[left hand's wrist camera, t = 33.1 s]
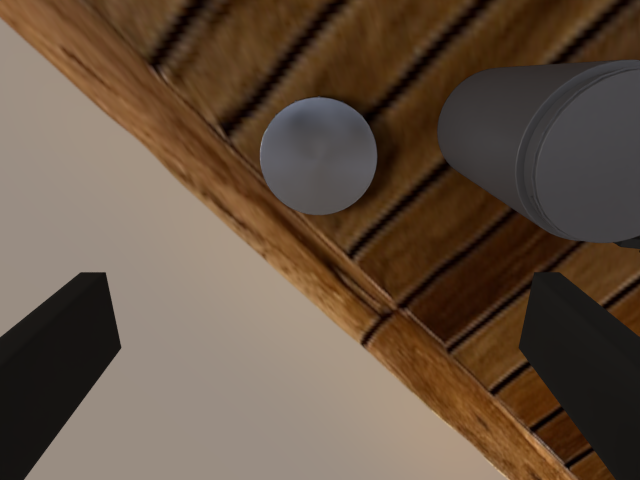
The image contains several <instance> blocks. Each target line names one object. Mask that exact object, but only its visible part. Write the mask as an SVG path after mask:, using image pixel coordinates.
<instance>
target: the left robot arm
mask: <svg viewBox="0 0 640 480" xmlns="http://www.w3.org/2000/svg"><path fill="white" fill-rule="evenodd" d="M120 349H121V344H120V339H119V334H118V329H117V325H116V320H115V315H114V311H113V305H112V301H111V296H110V291H109V286H108V281H107V277H106V273H105V272H81V273H79V274H78V275H77V276H76V277H74V278H73V279H72V280H71V281H69V282H68V283H67V284H66V285H64V286H63V287H62V288H61V289H60V290H58V291H57V292H56V293H55V294H53V295H52V296H51V297H50V298H48V299H47V300H46V301H45V302H43V303H42V304H41V305H40V306H38V307H37V308H36V309H35V310H34V311H32V312H31V313H30V314H29V315H27V316H26V317H25V318H24V319H22V320H21V321H20V322H19V323H17V324H16V325H15V326H14V327H12V328H11V329H10V330H9V331H8V332H6V333H5V334H4V335H3V336H1V337H0V480H24V479H25V477H26V476H27V475H28V473H29V472H30V471H31V469H32V468H33V467H34V465H35V464H36V463H37V461H38V460H39V459H40V457H41V456H42V454H43V453H44V452H45V450H46V449H47V448H48V446H49V445H50V444H51V442H52V441H53V440H54V438H55V437H56V436H57V434H58V433H59V431H60V430H61V429H62V427H63V426H64V425H65V423H66V422H67V421H68V419H69V418H70V417H71V415H72V414H73V412H74V411H75V410H76V408H77V407H78V406H79V404H80V403H81V402H82V400H83V399H84V398H85V396H86V395H87V394H88V392H89V391H90V390H91V388H92V387H93V385H94V384H95V383H96V381H97V380H98V379H99V377H100V376H101V375H102V373H103V372H104V371H105V369H106V368H107V366H108V365H109V364H110V362H111V361H112V360H113V358H114V357H115V356H116V354H117V353H118V352H119V350H120ZM519 349H520V350H521V352H522V353H523V354H524V356H525V357H526V358H527V360H528V361H529V363H530V364H531V365H532V367H533V368H534V369H535V371H536V372H537V373H538V375H539V376H540V377H541V379H542V380H543V381H544V383H545V384H546V385H547V387H548V388H549V390H550V391H551V392H552V394H553V395H554V396H555V398H556V399H557V400H558V402H559V403H560V404H561V406H562V407H563V408H564V410H565V411H566V413H567V414H568V415H569V417H570V418H571V419H572V421H573V422H574V423H575V425H576V426H577V427H578V429H579V430H580V431H581V433H582V434H583V436H584V437H585V438H586V440H587V441H588V442H589V444H590V445H591V446H592V448H593V449H594V450H595V452H596V453H597V454H598V456H599V457H600V459H601V460H602V461H603V463H604V464H605V465H606V467H607V468H608V469H609V471H610V472H611V473H612V475H613V476H614V477H615V479H616V480H640V337H639V336H637V335H636V334H635V333H634V332H633V331H631V330H630V329H629V328H628V327H626V326H625V325H624V324H623V323H621V322H620V321H619V320H618V319H616V318H615V317H614V316H613V315H611V314H610V313H609V312H608V311H607V310H605V309H604V308H603V307H602V306H600V305H599V304H598V303H597V302H595V301H594V300H593V299H592V298H590V297H589V296H588V295H587V294H585V293H584V292H583V291H582V290H580V289H579V288H578V287H577V286H576V285H574V284H573V283H572V282H571V281H569V280H568V279H567V278H566V277H564V276H563V275H562V274H561V273H559V272H534V277H533V281H532V286H531V291H530V296H529V301H528V305H527V310H526V315H525V320H524V325H523V329H522V334H521V339H520V344H519Z"/></svg>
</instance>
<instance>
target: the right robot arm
mask: <svg viewBox="0 0 640 480" xmlns="http://www.w3.org/2000/svg"><path fill="white" fill-rule="evenodd" d="M613 243H615V244H617V245H618V246H620V247H627V248H636V249H640V236H637V237H634V238H631V239H627V240H623V241H619V242H613ZM639 252H640V251H639Z"/></svg>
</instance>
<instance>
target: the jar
mask: <svg viewBox="0 0 640 480" xmlns="http://www.w3.org/2000/svg"><path fill="white" fill-rule="evenodd" d="M437 132H438V142H439V146H440V149H441V152H442V154H443V156H444V158H445V159H446V161H447V162H448V163H449V164H450V166H451V167H453V168H454V169H455V170H456V171H458V172H459V173H461V174H462V175H464V176H465V177H467V178H468V179H470V180H471V181H472V182H474V183H475V184H477V185H478V186H480V187H481V188H483V189H484V190H486V191H487V192H489V193H490V194H492V195H493V196H495V197H496V198H498V199H499V200H501V201H502V202H504V203H505V204H507V205H508V206H510V207H511V208H513V209H514V210H516V211H517V212H519V213H520V214H522V215H523V216H525V217H526V218H528V219H529V220H531V221H532V222H534V223H535V224H537V225H538V226H540V227H541V228H543V229H544V230H546V231H548V232H549V233H551V234H554V235H556V236H558V237H562V238H565V239H569V240H575V241H576V240H577V241H587V242H594V243H611V242H619V241H623V240H627V239H631V238H634V237H637V236H640V60H614V61H598V62H583V63H567V64H551V65H535V66H520V67H504V68H493V69H487V70H484V71H480V72H478V73H476V74H474V75H472V76H470V77H468V78H467V79H466V80H464V81H463V82H462V83H460V84H459V85H458V86H457V87H456V88H455V89H454V90H453V92H452V93H451V94H450V96H449V97H448V99H447V100H446V102H445V104H444V106H443V108H442V111H441V113H440V117H439V121H438V129H437Z"/></svg>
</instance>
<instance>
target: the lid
mask: <svg viewBox="0 0 640 480" xmlns="http://www.w3.org/2000/svg"><path fill="white" fill-rule="evenodd" d="M260 164H261V169H262V173H263V176H264V179H265V181H266V183H267V185H268V186H269V188H270V190H271V191H272V192H273V194H274V195H275V196H276V197H277V198H278V199H279V200H280V201H281V202H283V203H284V204H285V205H287V206H288V207H290V208H292V209H294V210H296V211H299V212H302V213H306V214H312V215H326V214H332V213H336V212H338V211H341V210H343V209H345V208H347V207H349V206H351V205H352V204H353V203H355V202H356V201H357V200H358V199H359V198H360V197H361V196H362V195H363V194H364V193H365V192H366V190H367V189H368V187H369V185H370V184H371V181H372V179H373V177H374V174H375V171H376V165H377V147H376V142H375V138H374V135H373V133H372V131H371V129H370V127H369V125H368V124H367V122H366V121H365V119H364V118H363V117H362V115H361V114H359V113H358V112H357V111H356V110H354V109H353V108H352V107H351V106H349V105H347V104H346V103H344V102H343V101H342V100H341V101H339V100H337V99H333V98H329V97H320V96H318V97H308V98H304V99H301V100H298V101H297V100H295V102H293V103H292V104H290V105H288V106H287V107H285V108H284V109H283V110H282V111H280V112H279V113H277V114H276V116H275V117H274V118H273V120H272V121H271V123H270V124H269V125H268V127H267V129H266V131H265V133H264V134H263V139H262V143H261V149H260Z"/></svg>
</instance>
